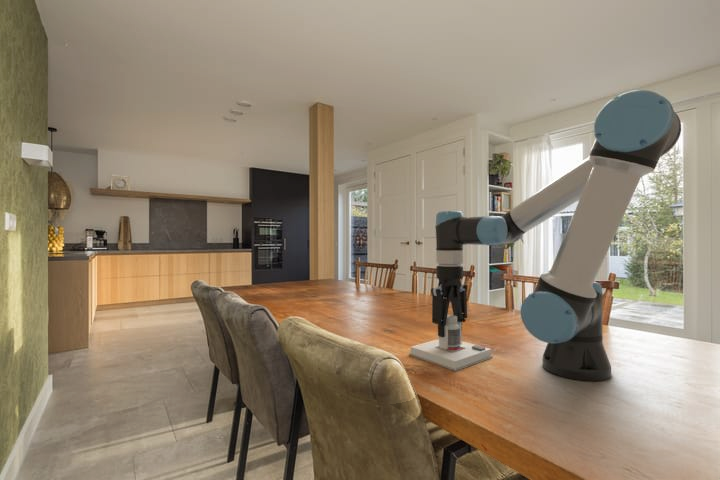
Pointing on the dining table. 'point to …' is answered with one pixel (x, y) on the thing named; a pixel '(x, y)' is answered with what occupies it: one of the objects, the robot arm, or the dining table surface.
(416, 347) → the socket plate
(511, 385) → the dining table surface
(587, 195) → the robot arm
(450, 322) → the pill bottle
